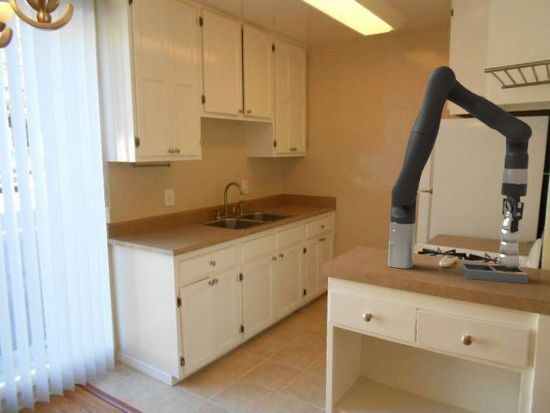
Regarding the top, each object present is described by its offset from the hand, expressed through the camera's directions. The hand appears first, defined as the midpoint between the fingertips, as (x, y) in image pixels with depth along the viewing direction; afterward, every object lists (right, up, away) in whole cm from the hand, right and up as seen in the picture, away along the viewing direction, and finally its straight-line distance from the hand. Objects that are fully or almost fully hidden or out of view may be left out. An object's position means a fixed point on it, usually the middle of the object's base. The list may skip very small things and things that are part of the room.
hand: (510, 229), depth 138 cm
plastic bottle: (0, -14, +2) cm, 14 cm away
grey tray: (-5, -17, +3) cm, 18 cm away
